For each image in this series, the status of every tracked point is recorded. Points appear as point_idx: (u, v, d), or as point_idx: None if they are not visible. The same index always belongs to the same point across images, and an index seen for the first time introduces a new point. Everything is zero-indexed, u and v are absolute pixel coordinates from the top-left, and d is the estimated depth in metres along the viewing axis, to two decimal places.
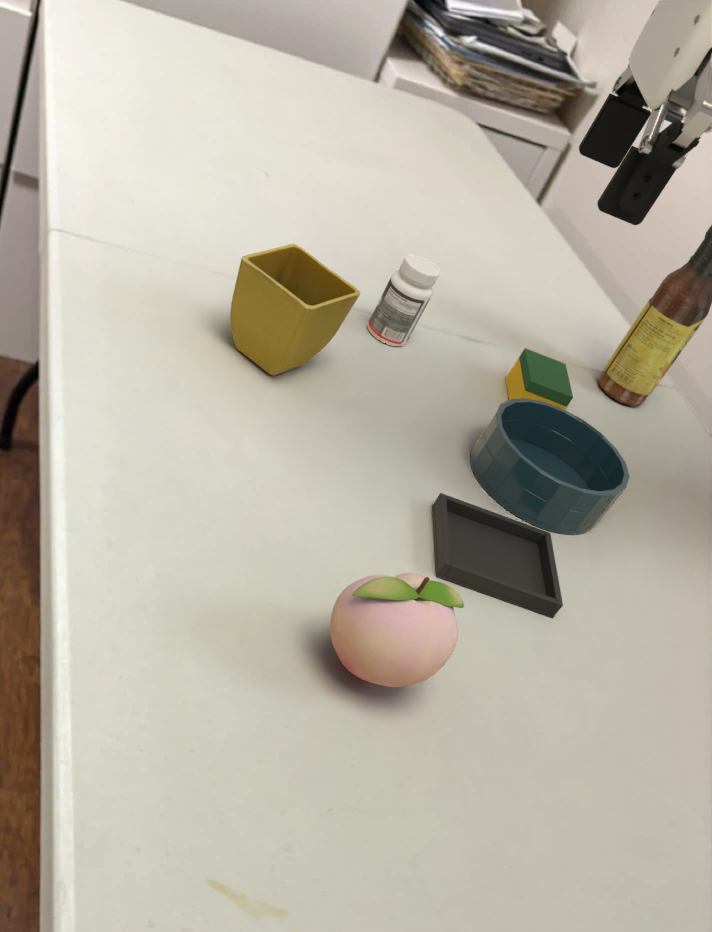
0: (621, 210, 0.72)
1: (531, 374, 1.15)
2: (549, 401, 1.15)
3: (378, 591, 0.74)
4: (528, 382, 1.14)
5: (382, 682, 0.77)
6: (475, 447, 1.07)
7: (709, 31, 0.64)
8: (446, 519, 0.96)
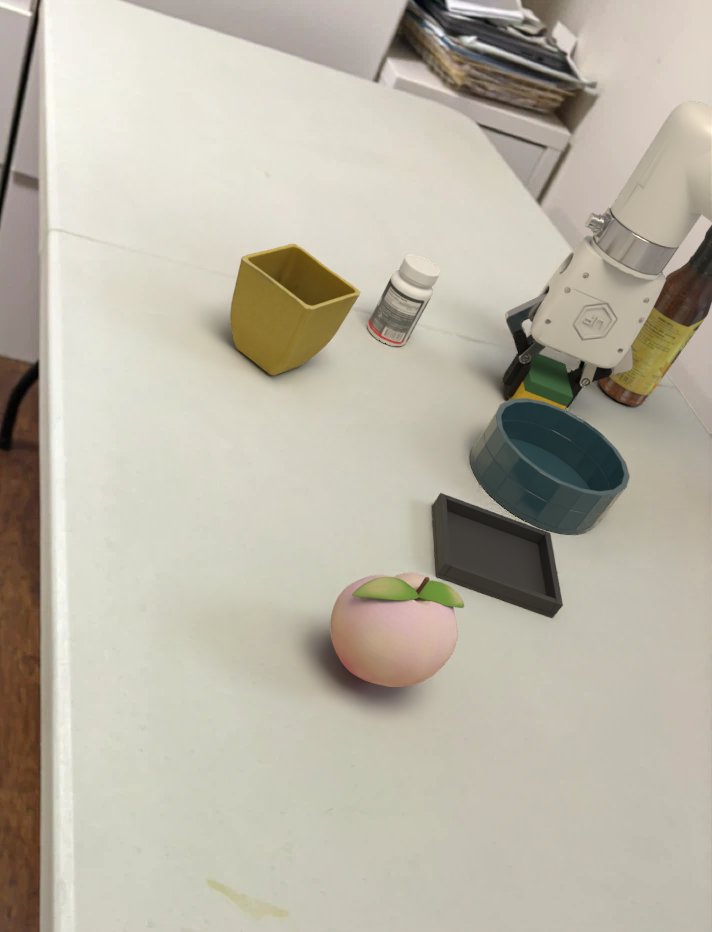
0: (506, 385, 1.18)
1: (531, 374, 1.15)
2: (549, 401, 1.15)
3: (378, 591, 0.74)
4: (528, 382, 1.14)
5: (382, 682, 0.77)
6: (475, 447, 1.07)
7: (552, 279, 1.11)
8: (446, 519, 0.96)
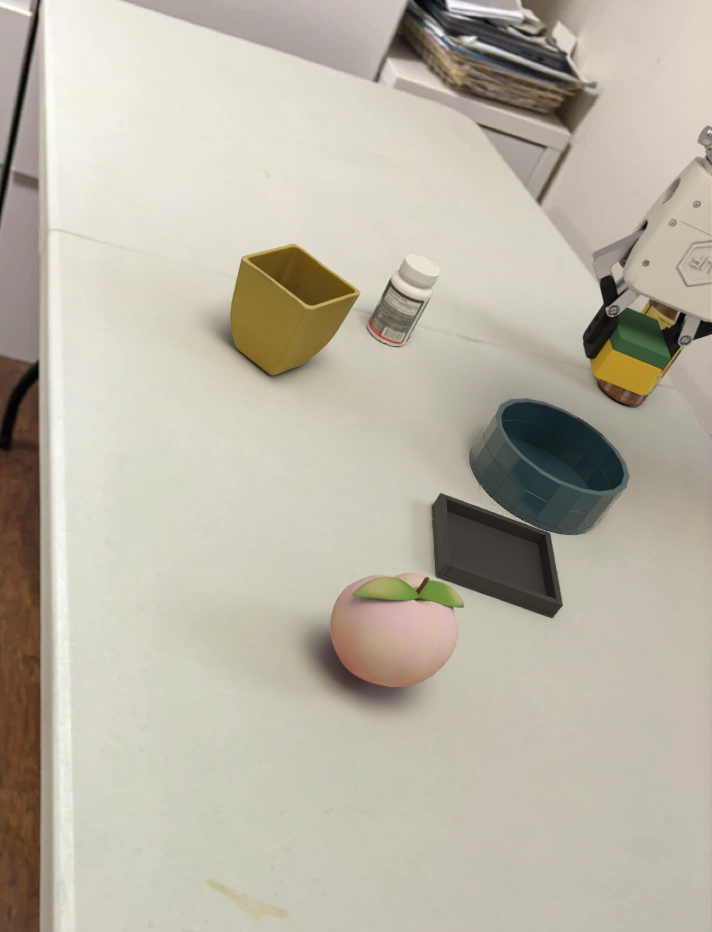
0: (587, 345, 0.98)
1: (620, 330, 0.95)
2: (641, 363, 0.95)
3: (378, 591, 0.74)
4: (617, 339, 0.94)
5: (382, 682, 0.77)
6: (475, 447, 1.07)
7: (651, 212, 0.91)
8: (446, 519, 0.96)
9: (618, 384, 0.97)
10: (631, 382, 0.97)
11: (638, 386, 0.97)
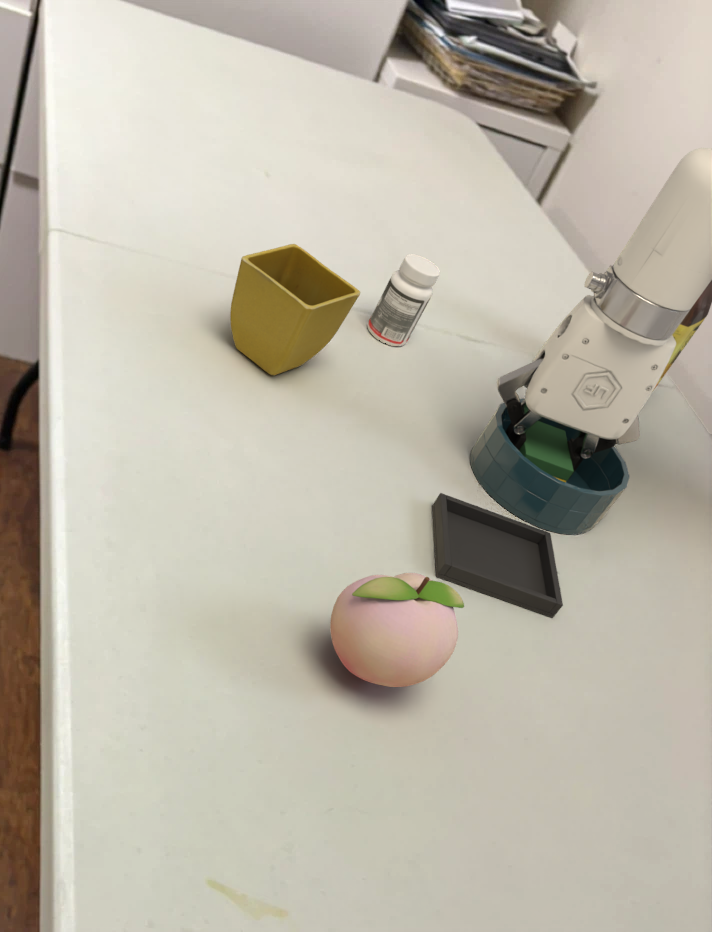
0: None
1: (526, 446, 1.03)
2: None
3: (378, 591, 0.74)
4: (523, 455, 1.03)
5: (382, 682, 0.77)
6: (475, 447, 1.07)
7: (548, 342, 0.99)
8: (446, 519, 0.96)
9: None
10: None
11: None
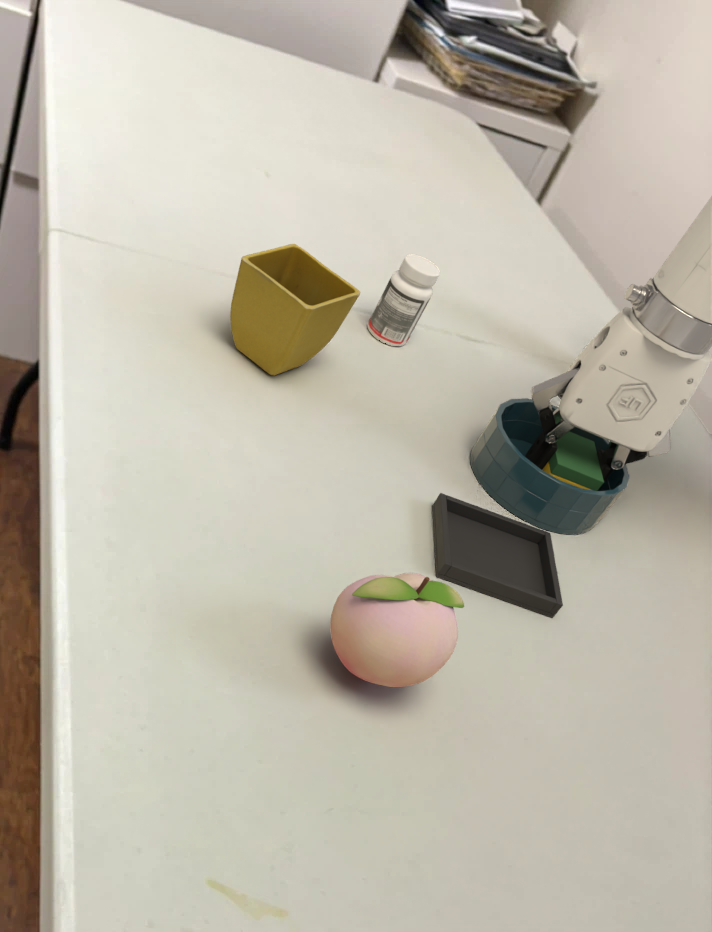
0: None
1: (557, 456, 1.03)
2: (577, 485, 1.04)
3: (378, 591, 0.74)
4: (554, 464, 1.03)
5: (382, 682, 0.77)
6: (475, 447, 1.07)
7: (584, 353, 0.99)
8: (446, 519, 0.96)
9: None
10: None
11: None
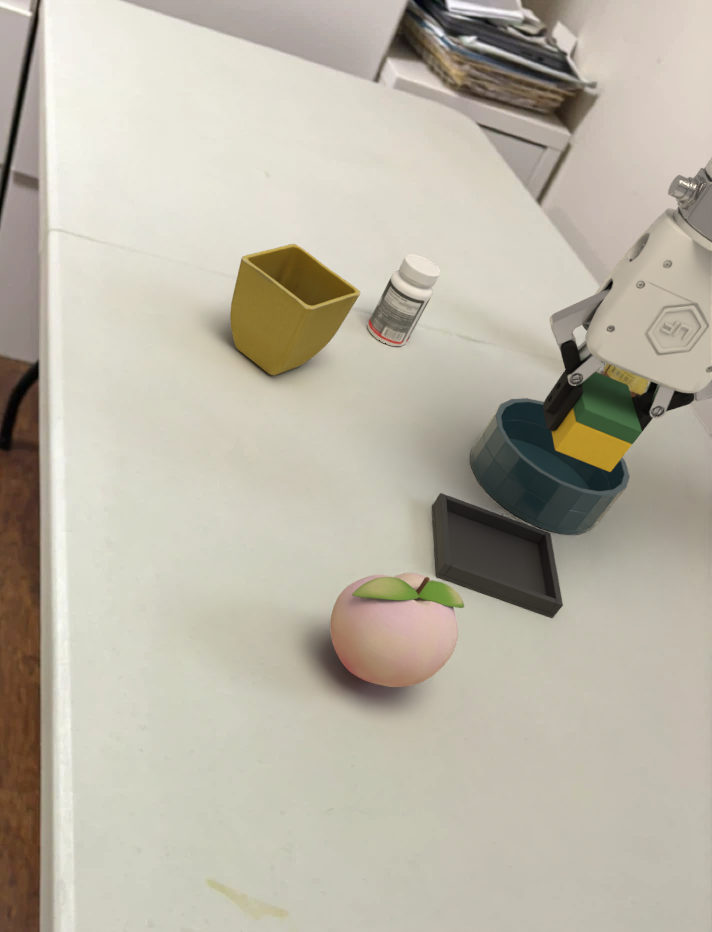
0: (548, 415, 0.87)
1: (584, 400, 0.84)
2: (608, 436, 0.84)
3: (378, 591, 0.74)
4: (581, 410, 0.83)
5: (382, 682, 0.77)
6: (475, 447, 1.07)
7: (617, 270, 0.80)
8: (446, 519, 0.96)
9: (583, 459, 0.86)
10: (597, 457, 0.86)
11: (605, 461, 0.86)
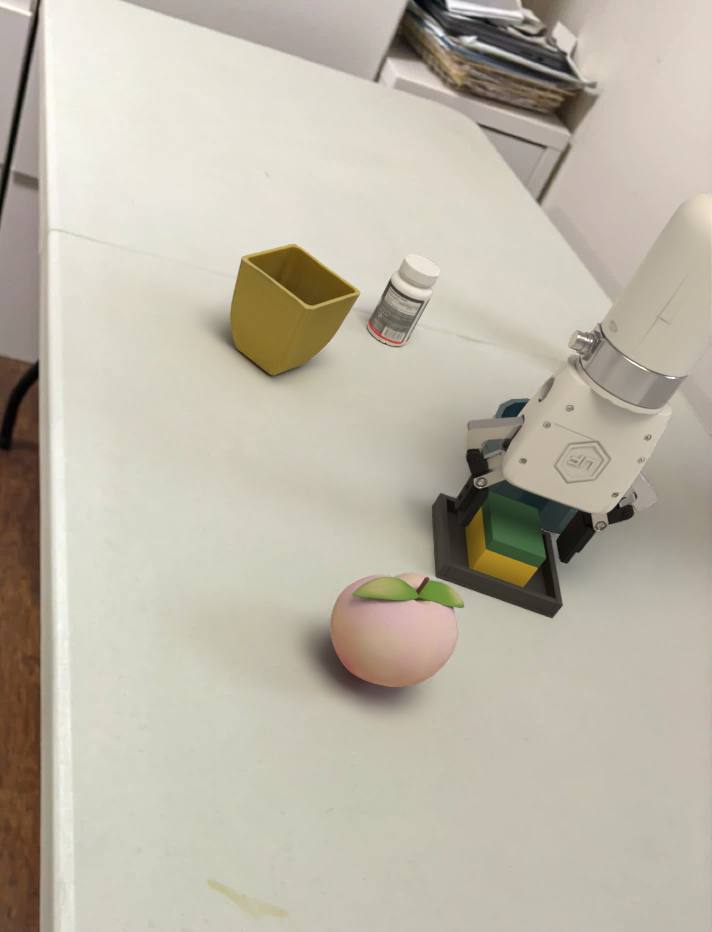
0: (460, 511, 0.94)
1: (493, 529, 0.92)
2: (516, 561, 0.93)
3: (378, 591, 0.74)
4: (490, 539, 0.92)
5: (382, 682, 0.77)
6: None
7: (529, 406, 0.88)
8: (446, 519, 0.96)
9: None
10: (508, 578, 0.94)
11: (515, 582, 0.94)
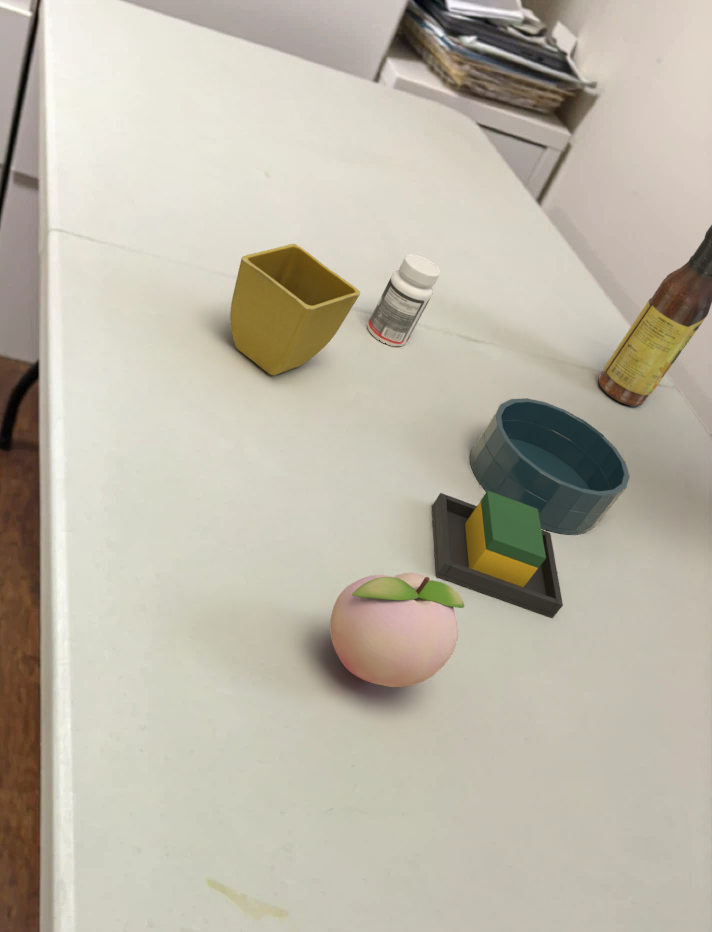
0: None
1: (493, 529, 0.92)
2: (516, 561, 0.93)
3: (378, 591, 0.74)
4: (490, 539, 0.92)
5: (382, 682, 0.77)
6: (475, 447, 1.07)
7: None
8: (446, 519, 0.96)
9: None
10: (508, 578, 0.94)
11: (515, 582, 0.94)
